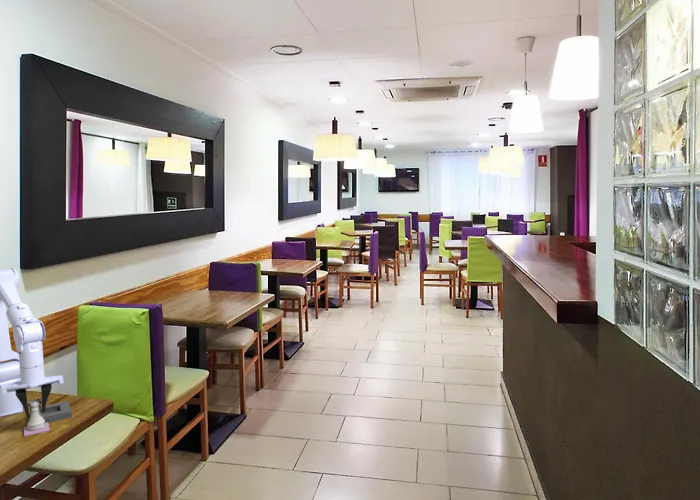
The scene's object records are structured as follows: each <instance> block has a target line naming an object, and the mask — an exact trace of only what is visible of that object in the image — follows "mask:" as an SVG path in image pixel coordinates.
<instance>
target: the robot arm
mask: <svg viewBox="0 0 700 500" xmlns="http://www.w3.org/2000/svg"><path fill="white" fill-rule="evenodd" d="M19 284H20V275H19V272H18V271H17V269H16V268H15V267H11V268H3V269H0V417H5V416H10V415H15V414H21V413H23V412H25V416H26V417H28V416H30V408H29V406H28V404H29V403H28V395H27V390H29V389H35V388H40V391H41V402H42V403H41V406H42V413H43V412H45V407H46V405H47V402H48V399H49V396H50V394H51V392H52V389H53V388H52V385H57V384H64V375H63V374H60V375H52V376H46V375H45V363H44V351H43V350H44V349H43V342H44V341H45V339H46V329H45V325H44V323H43V322H42V320H39V318H35V316H34V313H33V312H32V310H31V308H30V306H29V305H28V304H27V303H24V302H22V300H21V297H20V294H19V291H18V287H19ZM8 322H9V323H8ZM9 324H10V325H11V328H12V330H13V331H12V332H13V333H12V336H13V341H14V343H15V349H16V351H14V350H13V349H12V343H11V336H10V332H9V331H10V330H9Z"/></svg>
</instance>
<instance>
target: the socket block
mask: <svg viewBox="0 0 700 500" xmlns="http://www.w3.org/2000/svg"><path fill="white" fill-rule="evenodd" d="M70 405H71V404H70V402H69V400H66V401H62V402H56V403H51V404H46V407H45V412H43V413H42V405H40V407H41V409H40V411H41V415H42V417H43V419H44V420H45V423H46V422H48V423H51V422H56V421H62V420H66V419H70V418H73V414H72V413H73V412H72V408H71V406H70Z"/></svg>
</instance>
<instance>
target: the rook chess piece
mask: <svg viewBox="0 0 700 500" xmlns="http://www.w3.org/2000/svg"><path fill="white" fill-rule="evenodd" d="M27 404H28V407H29V416H30V417H29V419H28V422H27V426H26V427H27V428H28V429H29V430H30V431H34V430H39V429H42V428H44V426H45V425H46V424H45V420H44V419H43V417H42V415H41V411H40V409H41V407H40V406H41V405H42V400H41V399H40V398H33V399H30V400H29V402H28V403H27Z"/></svg>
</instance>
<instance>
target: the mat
mask: <svg viewBox="0 0 700 500" xmlns="http://www.w3.org/2000/svg"><path fill="white" fill-rule="evenodd" d="M49 423H50V422H46V423H45V424H46V425H45V426H44V428H42V429H39V430H34V431H30V430H29V429H28V428H27V427H28V426H25V427H23V437H28V436H33V435H37V434H41V433H47V432H50V424H49Z"/></svg>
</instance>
